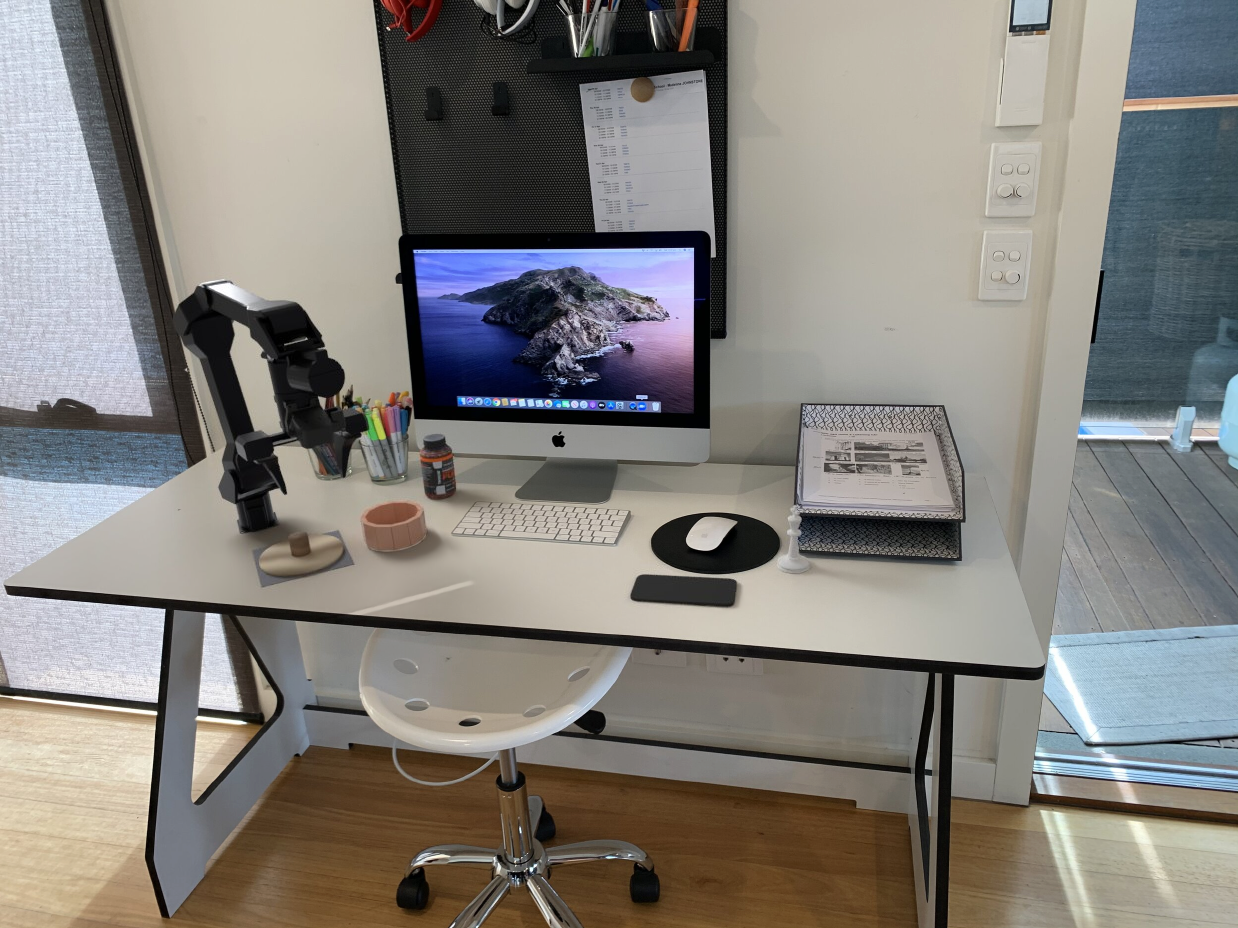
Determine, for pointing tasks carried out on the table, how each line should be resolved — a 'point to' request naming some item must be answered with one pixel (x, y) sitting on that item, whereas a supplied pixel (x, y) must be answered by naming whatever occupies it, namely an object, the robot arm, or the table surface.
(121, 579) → the table surface
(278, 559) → the lid
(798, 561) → the chess piece
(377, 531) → the bowl
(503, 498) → the table surface
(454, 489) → the supplement bottle
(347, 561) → the mat
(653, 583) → the phone
